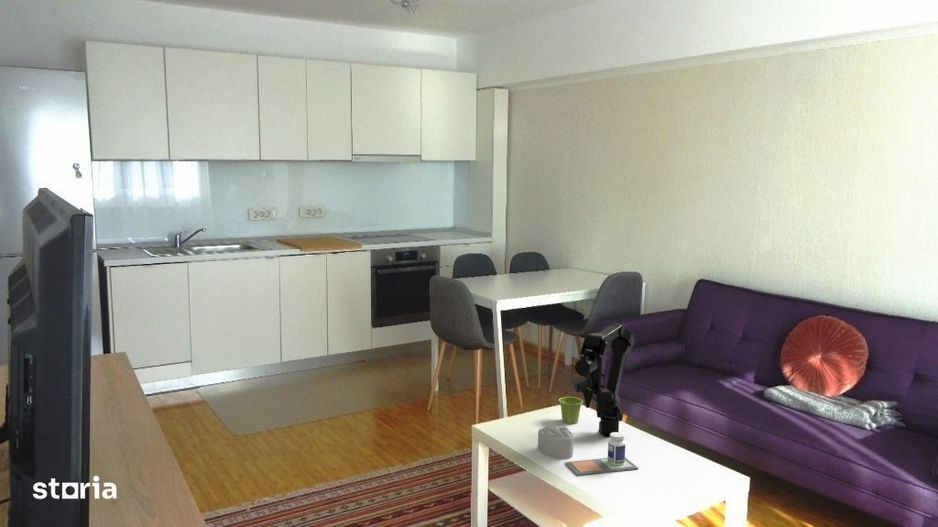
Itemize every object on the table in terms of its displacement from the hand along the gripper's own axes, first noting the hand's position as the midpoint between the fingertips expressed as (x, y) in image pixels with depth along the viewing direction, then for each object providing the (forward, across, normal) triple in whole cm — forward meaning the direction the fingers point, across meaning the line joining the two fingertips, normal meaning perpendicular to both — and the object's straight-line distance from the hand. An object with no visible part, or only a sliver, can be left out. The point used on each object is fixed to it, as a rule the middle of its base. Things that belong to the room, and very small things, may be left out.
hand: (592, 411), depth 256 cm
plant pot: (+13, -26, +3) cm, 29 cm away
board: (+13, +17, -4) cm, 22 cm away
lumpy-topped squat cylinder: (+13, +2, -14) cm, 20 cm away
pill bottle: (+12, +17, +1) cm, 21 cm away
